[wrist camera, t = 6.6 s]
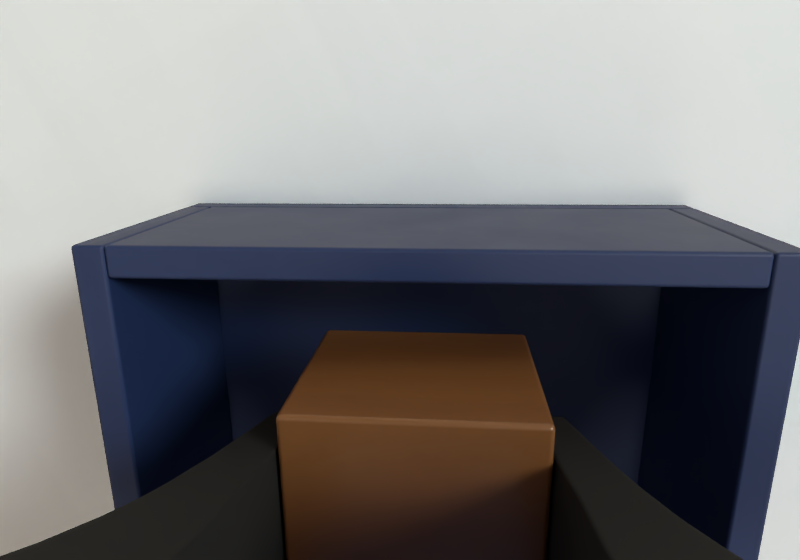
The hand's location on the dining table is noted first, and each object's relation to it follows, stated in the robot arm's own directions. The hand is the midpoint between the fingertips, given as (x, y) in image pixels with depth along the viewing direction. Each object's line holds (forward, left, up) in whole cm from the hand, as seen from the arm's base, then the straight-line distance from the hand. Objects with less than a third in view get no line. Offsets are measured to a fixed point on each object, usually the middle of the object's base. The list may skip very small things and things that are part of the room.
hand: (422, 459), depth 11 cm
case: (0, 0, -5) cm, 5 cm away
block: (0, 0, -1) cm, 1 cm away
